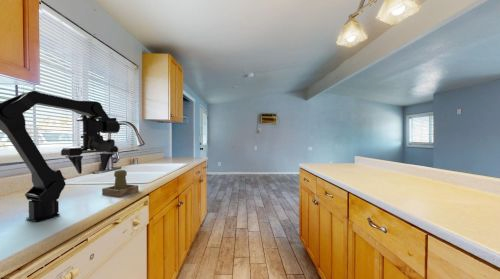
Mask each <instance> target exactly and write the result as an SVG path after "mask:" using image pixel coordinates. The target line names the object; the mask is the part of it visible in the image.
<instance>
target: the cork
mask: <svg viewBox="0 0 500 279" xmlns="http://www.w3.org/2000/svg"><path fill="white" fill-rule="evenodd" d="M127 175H128V174H127V170H125V169H118V170H115V171H114V174H113V176H114V178H115V180H114V185H113V186H114V190H121V189H125V188H127V184H128V183H127V179H126V176H127Z"/></svg>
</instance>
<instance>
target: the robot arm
mask: <svg viewBox="0 0 500 279" xmlns="http://www.w3.org/2000/svg"><path fill="white" fill-rule="evenodd" d="M36 105H37V106H38V105H39V106H44V107H48V108H55V109H61V110H62V109H63V110H67V111H71V112H73V113H76V114H79V115H80V117H78V118H77V119H76V118H75V119H76V120H75V121H76V122H82V135H80V139H82V145H80V147H74V146H73V147H63V148H62V149H61V151H60V155H61V156H65V158H68V160H69V161H70V162H71V163H72V165H73V166H74V168H75V170H76V172H77V174H79V175H81V174H82V170H83V169H82V168H83V167H82V166H83V165H82V164H83V163H82V159H83V157H84V155H82V154H88V153H89V154H92V153H93V154H94V153H99V155H100V156H99V157H100V166H101V169H102V170H103V171H105V170H106V168H107V166H108V163H109V161H110V159H111V157H112V156H114V155H116V153H119V147H118V146H117V145H116V144H115V143H116V142H115V139H111V138H110V139H107V140H106V139H104V135H101V133H102V134H118V133H119V132H120V129H121V125H120V123H119V121H118V120H117V118H116V117H109V115H108V114H107V113H106V111H105V110H104V107H103V105H102V104H101V103H100V102H98V101H95V100H93V101H92V100H76V99H71V98H68V97H67V98H66V97H61V96H57V95H53V94H48V93H44V92H43V93H42V92H40V91H38V90H28V91H23V92H22V93H20V94H19V95H16V96H13V97H12V98H9V99H6V100H4V101H2V102H0V131H2V133H4V134H5V135H6V137H7V138H8V140H9V141H10V143H11V144H12V146H13V147H14V148H15V150H16V152H17V153H18V155H19V156H20V158H21V160H22V161H23V162H24V164H25V165H26V167H27V169H28V170H29V171H30V173H31V182H32V185H33V186H32V187H31V188H29V190H28V191H27V192H26V193H24V196H25V198H26V199H27V200H28V217H26V218H25V219H26V220H28V221H31V222H35V223H38V222H42V221H45V220H49V219H51V218H52V219H53V218H56V217H59V216H61V214H60V213H59V212H60V211H59V210H60V209H59V208H60V207H59V205H60V204H59V199H60V196H61V193H62V191H64V189H65V186H66V181H65V180H67V179H66V178H65V177H64V176H63V173H62V171H61V170H60V169H55V168H51V167H50V166H49V164H48V163H47V162H46V159H45V158H44V157H43V155H42V153H41V151H40V150H39V149H38V147H37V145H36V143H35V142H34V141H33V139H32V137H31V136H30V134H29V132H28V131H27V128H26V118H25V115H24V113H26V112H28V111H29V110H30V109H32V108H33V107H35V106H36Z"/></svg>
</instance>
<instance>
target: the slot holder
mask: <svg viewBox="0 0 500 279" xmlns="http://www.w3.org/2000/svg"><path fill="white" fill-rule="evenodd" d="M101 190H102V192H101V193H102V194H101V195H102V196H106V197H107V196H108V197H113V198H114V197H115V198H121V196H122V197H125V196H128V194H129V195H132V194H135V193H138V192H139V185H137V184H128V183H127V188H125V189H121V190H114V185H112V186H107V187H103V188H102V189H101ZM124 195H125V196H124Z"/></svg>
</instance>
